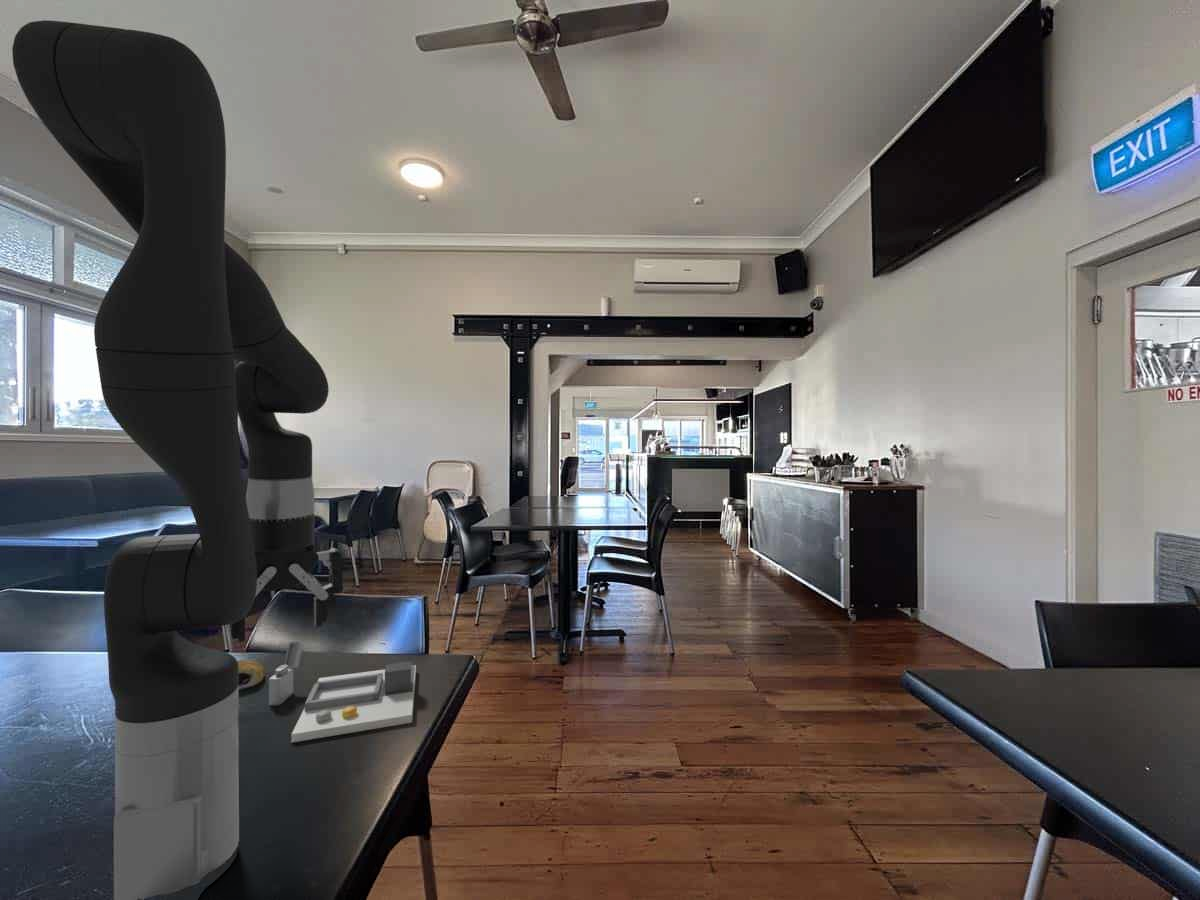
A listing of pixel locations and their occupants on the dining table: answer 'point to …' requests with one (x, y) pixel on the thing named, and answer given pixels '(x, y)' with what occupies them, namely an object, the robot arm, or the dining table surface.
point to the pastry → (249, 673)
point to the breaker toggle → (398, 677)
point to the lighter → (284, 675)
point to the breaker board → (353, 705)
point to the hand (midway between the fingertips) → (281, 632)
